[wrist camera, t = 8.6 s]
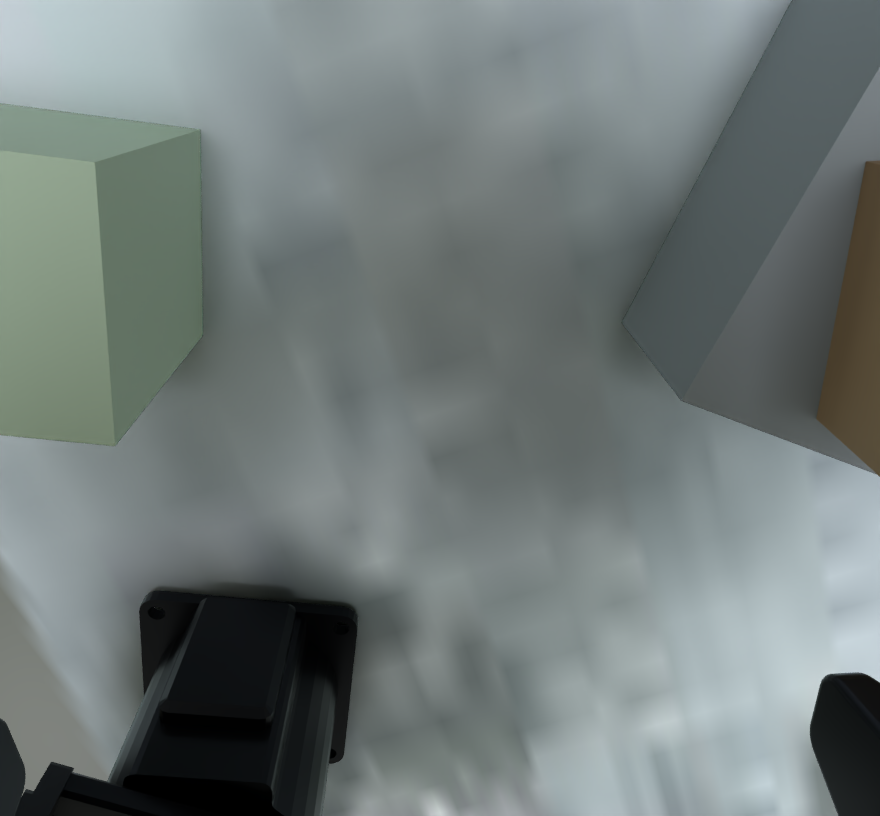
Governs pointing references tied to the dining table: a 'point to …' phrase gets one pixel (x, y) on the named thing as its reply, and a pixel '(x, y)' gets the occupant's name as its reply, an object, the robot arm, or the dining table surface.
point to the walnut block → (858, 336)
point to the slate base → (771, 232)
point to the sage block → (94, 269)
